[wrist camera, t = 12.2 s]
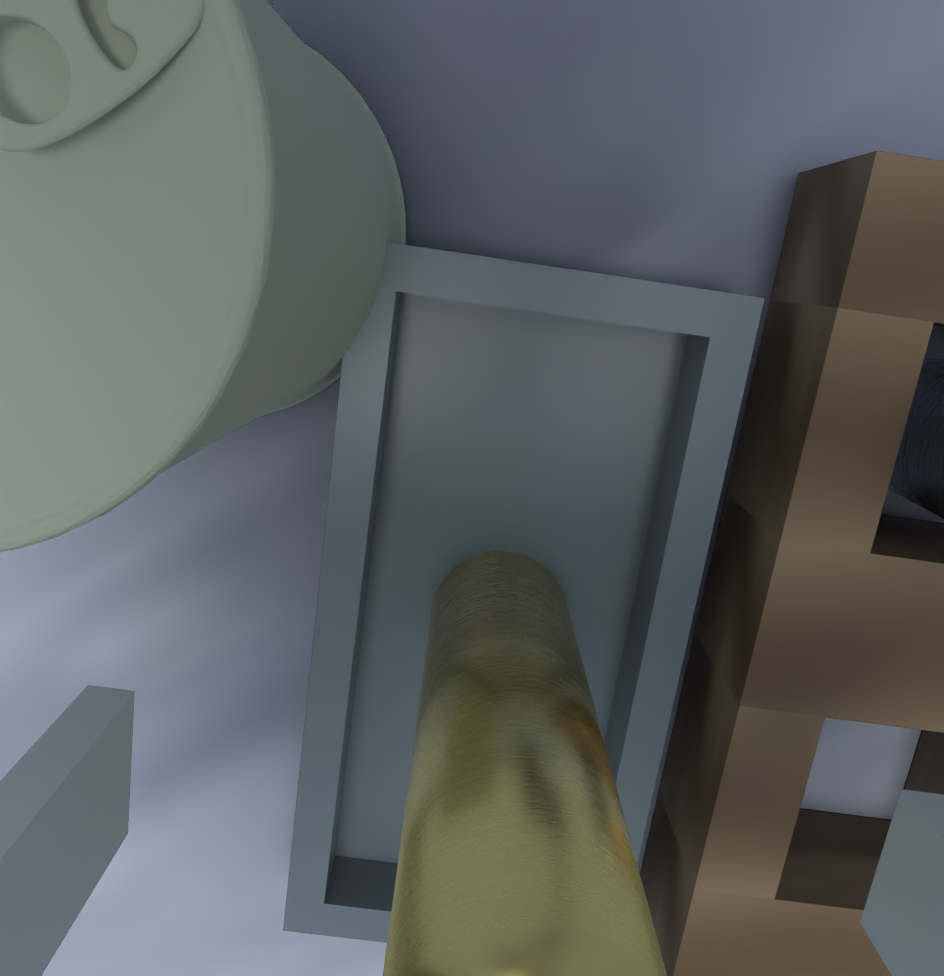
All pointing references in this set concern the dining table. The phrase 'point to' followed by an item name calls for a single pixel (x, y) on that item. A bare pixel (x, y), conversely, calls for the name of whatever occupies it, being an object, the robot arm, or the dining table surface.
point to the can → (170, 240)
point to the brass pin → (512, 797)
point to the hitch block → (810, 596)
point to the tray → (505, 522)
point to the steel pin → (923, 442)
